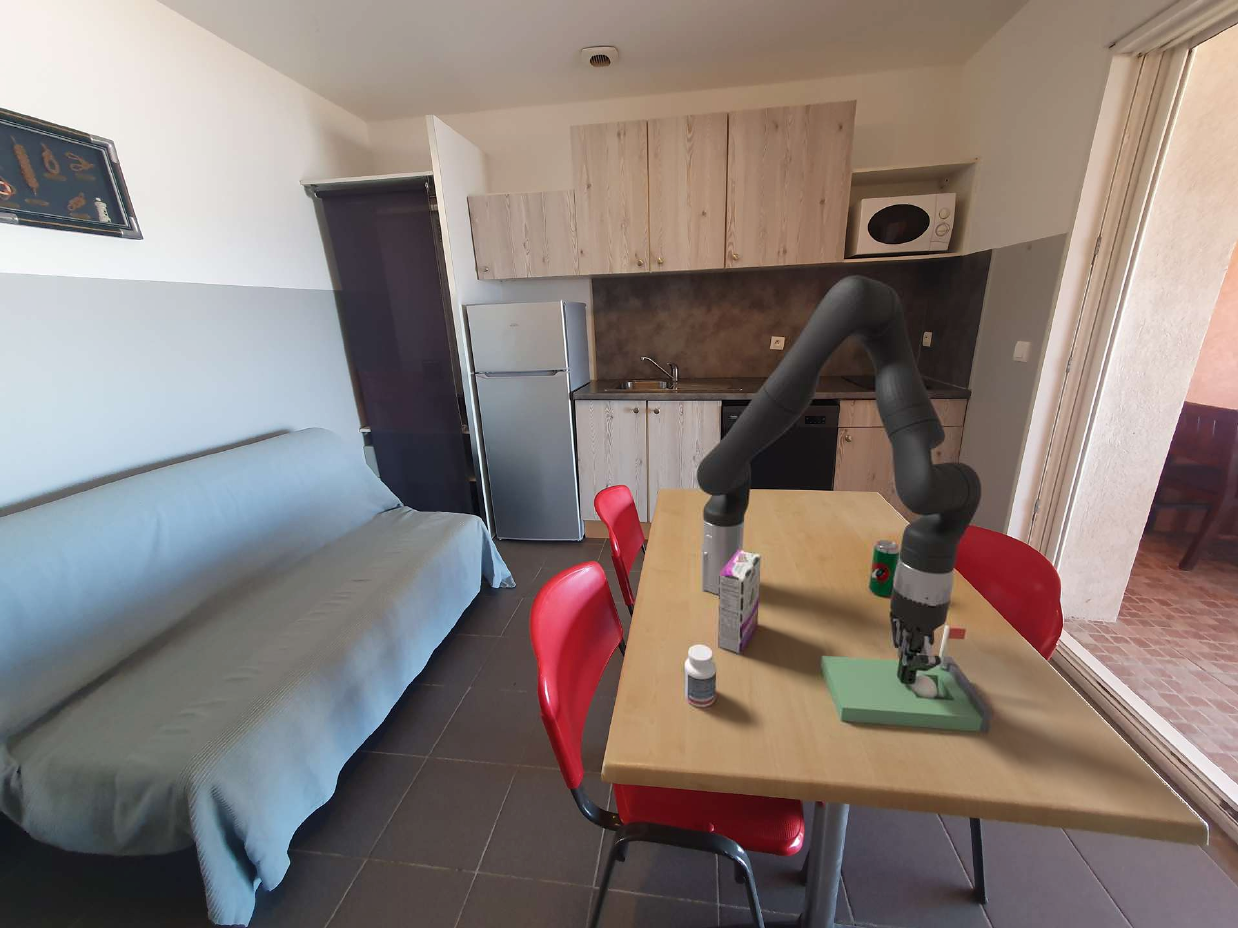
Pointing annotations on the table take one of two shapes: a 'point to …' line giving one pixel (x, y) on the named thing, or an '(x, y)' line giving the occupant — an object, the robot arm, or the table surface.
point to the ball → (924, 687)
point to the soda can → (884, 567)
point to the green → (905, 693)
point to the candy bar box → (738, 600)
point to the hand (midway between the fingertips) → (905, 680)
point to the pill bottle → (700, 676)
